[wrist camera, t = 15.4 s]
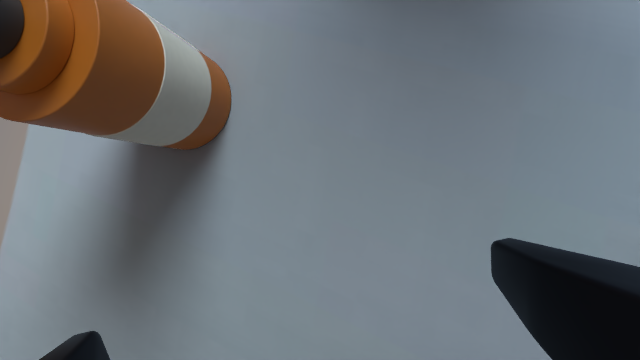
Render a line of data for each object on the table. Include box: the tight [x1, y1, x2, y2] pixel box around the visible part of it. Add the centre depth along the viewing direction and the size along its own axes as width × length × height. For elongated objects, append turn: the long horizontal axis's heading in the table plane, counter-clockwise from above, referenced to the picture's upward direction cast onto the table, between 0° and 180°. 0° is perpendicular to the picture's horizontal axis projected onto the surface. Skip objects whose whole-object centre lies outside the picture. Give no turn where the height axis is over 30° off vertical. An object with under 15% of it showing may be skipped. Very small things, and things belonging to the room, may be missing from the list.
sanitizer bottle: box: [0, 0, 231, 150], centre depth 16 cm, size 6×6×14 cm
